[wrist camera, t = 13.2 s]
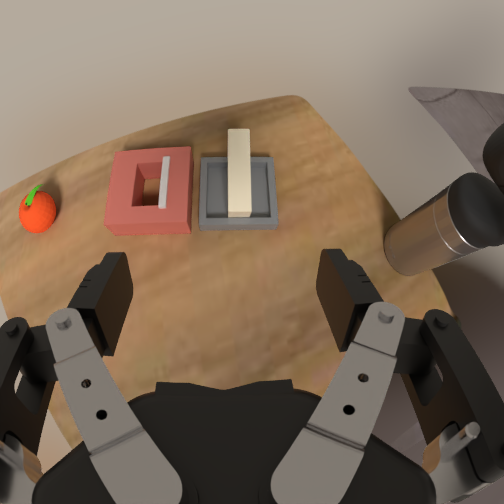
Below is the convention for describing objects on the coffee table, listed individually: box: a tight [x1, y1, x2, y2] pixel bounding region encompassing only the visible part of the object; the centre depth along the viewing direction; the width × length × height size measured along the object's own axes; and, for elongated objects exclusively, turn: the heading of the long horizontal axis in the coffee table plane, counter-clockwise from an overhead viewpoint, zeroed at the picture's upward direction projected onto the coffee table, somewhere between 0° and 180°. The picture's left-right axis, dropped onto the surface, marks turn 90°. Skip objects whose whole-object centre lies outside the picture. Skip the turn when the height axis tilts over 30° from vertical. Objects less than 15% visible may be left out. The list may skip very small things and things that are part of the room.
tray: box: [199, 157, 278, 231], centre depth 45 cm, size 11×11×2 cm
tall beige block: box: [228, 129, 252, 218], centre depth 42 cm, size 3×6×12 cm
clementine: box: [19, 185, 56, 233], centre depth 39 cm, size 8×7×7 cm
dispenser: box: [104, 146, 194, 236], centre depth 42 cm, size 12×12×6 cm
